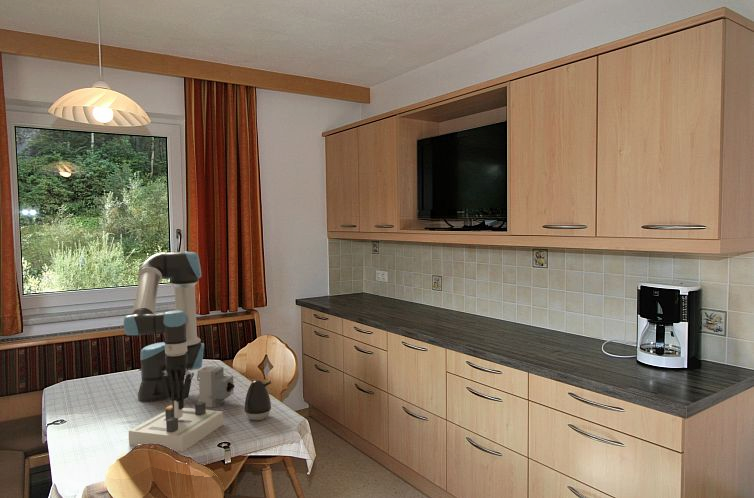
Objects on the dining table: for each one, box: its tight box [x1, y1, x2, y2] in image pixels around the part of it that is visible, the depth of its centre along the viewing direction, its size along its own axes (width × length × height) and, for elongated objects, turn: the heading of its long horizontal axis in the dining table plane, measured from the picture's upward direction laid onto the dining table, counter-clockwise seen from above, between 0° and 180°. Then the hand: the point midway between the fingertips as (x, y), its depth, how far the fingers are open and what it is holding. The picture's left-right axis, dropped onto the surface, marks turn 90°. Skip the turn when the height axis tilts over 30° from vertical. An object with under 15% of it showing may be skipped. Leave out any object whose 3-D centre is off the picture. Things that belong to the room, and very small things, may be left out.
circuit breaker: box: [196, 365, 235, 408], centre depth 217 cm, size 8×14×15 cm, turn 78°
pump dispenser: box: [244, 379, 272, 422], centre depth 200 cm, size 10×10×15 cm
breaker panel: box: [128, 402, 224, 453], centre depth 186 cm, size 22×24×9 cm
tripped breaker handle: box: [164, 404, 174, 420], centre depth 187 cm, size 2×3×5 cm
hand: (178, 417), depth 186 cm, fingers closed
